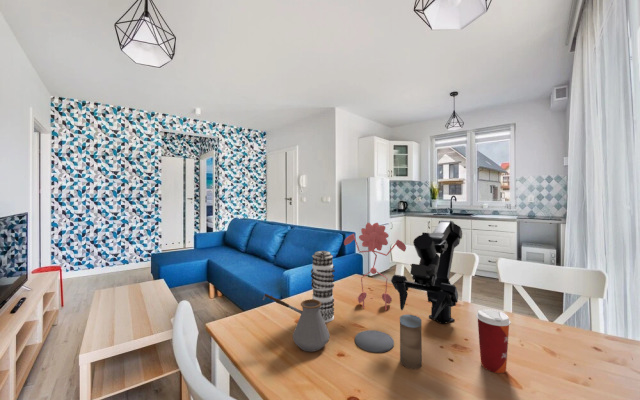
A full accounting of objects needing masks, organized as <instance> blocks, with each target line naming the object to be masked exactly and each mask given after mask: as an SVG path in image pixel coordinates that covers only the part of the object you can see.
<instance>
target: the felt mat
mask: <svg viewBox="0 0 640 400" xmlns="http://www.w3.org/2000/svg"><path fill="white" fill-rule="evenodd" d="M354 342H355V344H356V346H357V347H359V348H360V349H362V350H364V351H367V352H369V353H376V354H377V353H381V354H382V353H386V352H389V351H390V350H392V349H393V348H394V347H395V346H394V345H395V341H394V339H393V337H392V336H390V335H389V334H388V333H386V332H383V331H379V330H374V329H373V330H371V329H368V330H363V331H362V330H361V331H360V332H358V333H357V334H356V335H355V337H354Z"/></svg>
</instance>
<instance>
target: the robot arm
mask: <svg viewBox="0 0 640 400" xmlns="http://www.w3.org/2000/svg"><path fill="white" fill-rule="evenodd" d="M462 238H463V230H462V227H461V226H460V225H458V224H456V223H455V222H454V221H453V220H451V219H450V220H448V219H447V220H443V219H441V220H438V224H437V226H436V227H435V229H434V230H433V231H432V232H431V233H430V232H422V233H421V235H418V236H416V237H415V238H414V239H413V242H412V243H413V246H414V249H415V251H416V254H417V256H418V258H419V262H418V264H417V263H411V267H410V272H409V274H410V275H412V280H413V281H410V280H408V279H407V277H406V276H405V275H401V274H393V276H391V280H390V282H391V284H392V287H394V290H396V291H397V293H398V295H399V308H400V311H403V310H404V308H405V305H406V302H407V298H408V291H409V289H413V290H419V291H424V292H426V296H427V302H429V303H431V309H430V310H431V311H430V312H431V314H430V315H428V318H430V319H432V320H434V321H435V322H437V323H440V324H441V325H444V324H448V323H452V322H455V321H456V320H455V318H453V317H452V308H453V307H456V305H457V304H456V303H458V302H459V301H458V299H459V293H458V290H457V287H456V285H455V284H453V283H452V284H451V281H450V275H451V268H452V265H453V264H452V263H453V257H454V252H455V248H456V247H458V246H459V245H460V243H461V240H462Z"/></svg>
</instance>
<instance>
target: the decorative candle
mask: <svg viewBox="0 0 640 400" xmlns="http://www.w3.org/2000/svg"><path fill="white" fill-rule="evenodd" d="M311 257H312V264H311V266H312V267H311V268H312V269H311V270H310V273H311V274H310V277H311V285H310V286H311V288H312V299H315V300H318V301H320V302H321V306H320V308H319V310H320V313H321V315H322V317H323V320H324V322H325V324H327V323H330V322H332V321H333V320H335V312H334V311H335V308H334V306H335V299H334V293H333V291H334V287H335V284H334V282H335V279H334V278H335V274H333V273H334V272H335V270H336V269H335V266H334V263H333V257H334V255H333V254H332V253H331V252H330V251H327V250H319V251H315V252H314V254H312V255H311Z"/></svg>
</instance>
